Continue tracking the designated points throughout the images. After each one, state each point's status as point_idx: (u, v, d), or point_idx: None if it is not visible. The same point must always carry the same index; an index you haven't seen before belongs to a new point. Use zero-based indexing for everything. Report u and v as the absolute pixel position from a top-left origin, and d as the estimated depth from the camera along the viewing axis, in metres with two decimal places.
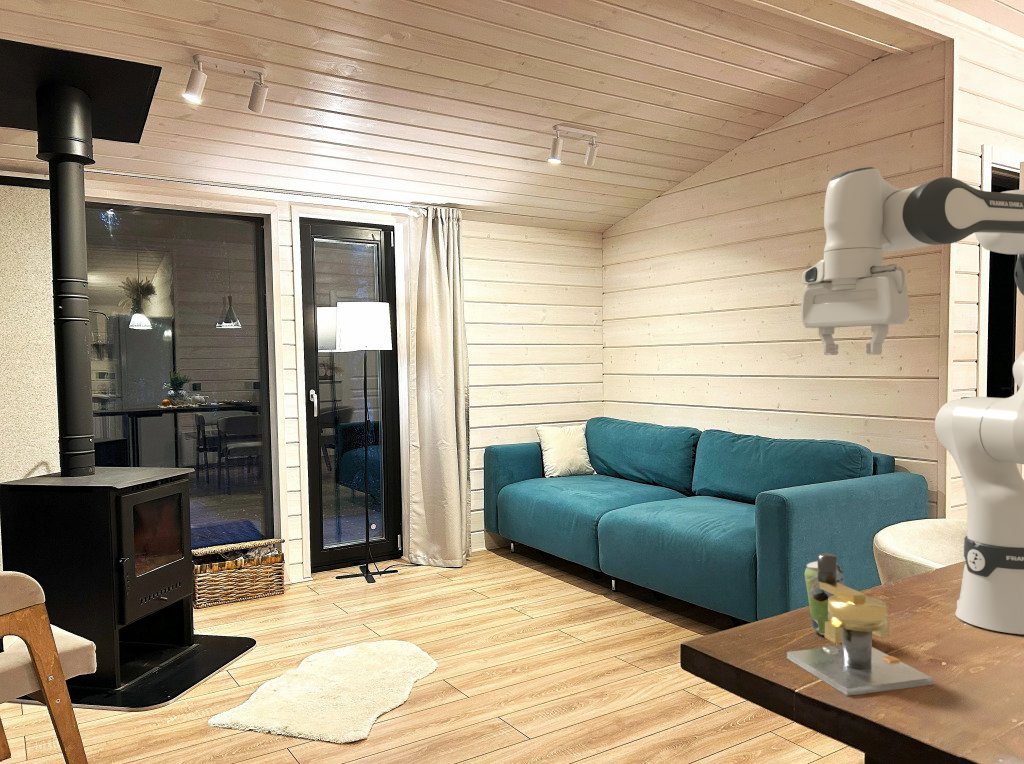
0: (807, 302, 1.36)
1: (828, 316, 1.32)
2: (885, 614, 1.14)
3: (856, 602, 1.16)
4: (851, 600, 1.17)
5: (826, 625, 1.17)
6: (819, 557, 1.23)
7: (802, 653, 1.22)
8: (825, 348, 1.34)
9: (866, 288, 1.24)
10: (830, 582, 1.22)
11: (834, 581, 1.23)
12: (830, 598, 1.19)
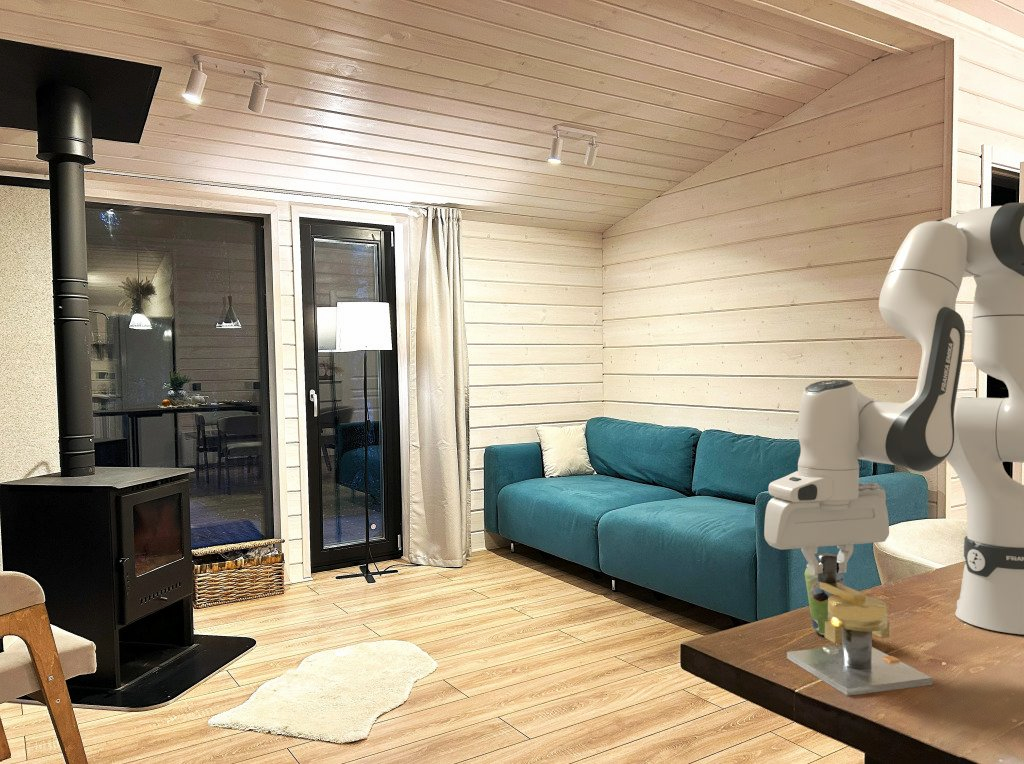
0: (788, 521, 1.19)
1: (815, 536, 1.21)
2: (885, 614, 1.14)
3: (856, 602, 1.16)
4: (851, 600, 1.17)
5: (826, 625, 1.17)
6: (819, 557, 1.23)
7: (802, 653, 1.22)
8: (817, 568, 1.22)
9: (862, 508, 1.23)
10: (830, 582, 1.22)
11: (834, 581, 1.23)
12: (830, 598, 1.19)
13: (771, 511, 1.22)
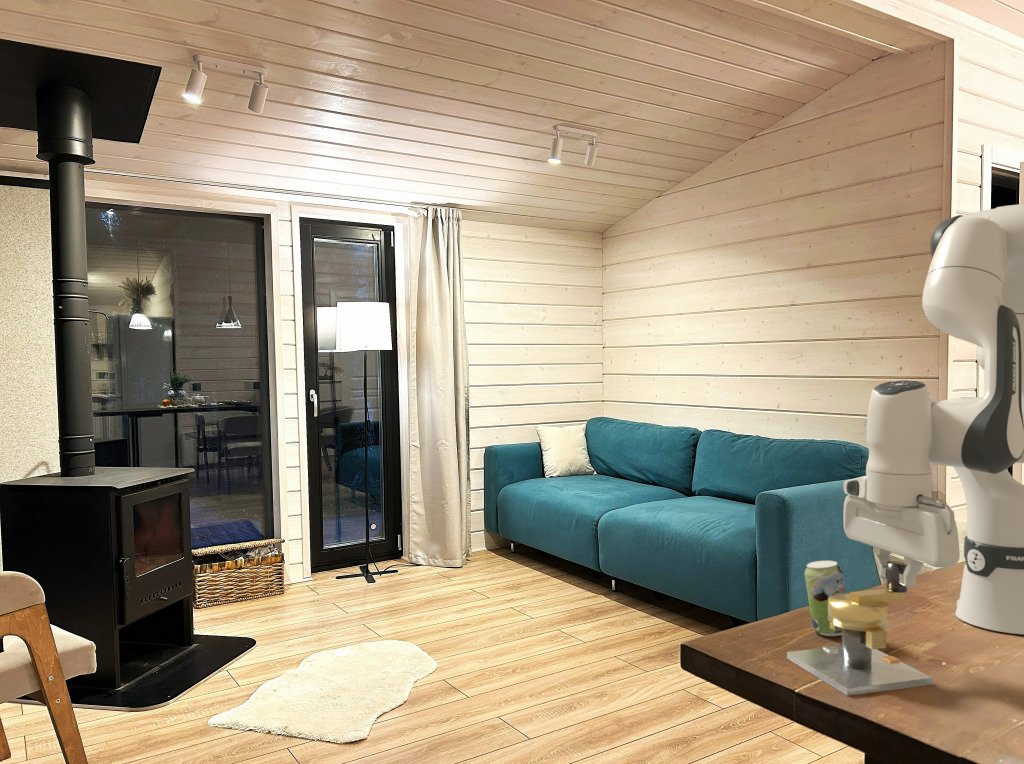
0: (849, 512, 1.26)
1: (871, 535, 1.21)
2: (847, 615, 1.14)
3: (852, 600, 1.17)
4: None
5: None
6: None
7: (802, 653, 1.22)
8: (881, 571, 1.21)
9: (911, 520, 1.13)
10: (887, 588, 1.19)
11: (891, 589, 1.18)
12: None
13: None
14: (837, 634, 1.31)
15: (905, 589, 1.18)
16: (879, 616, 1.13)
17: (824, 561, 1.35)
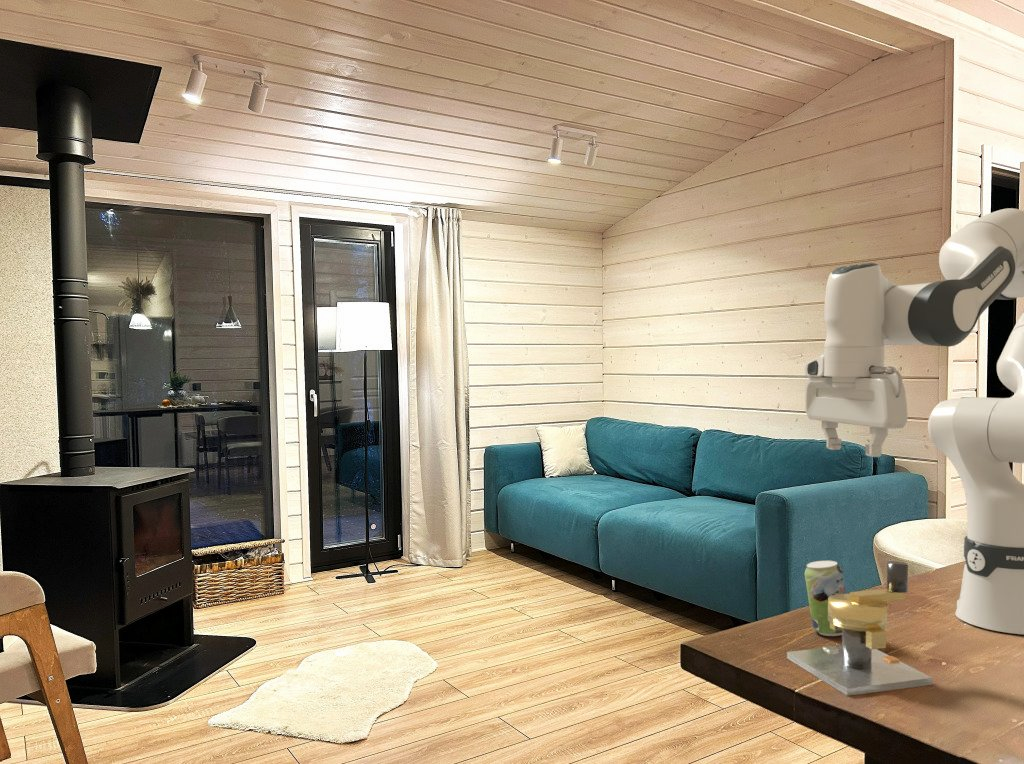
0: (810, 394, 1.34)
1: (829, 411, 1.29)
2: (847, 615, 1.14)
3: (852, 600, 1.17)
4: None
5: None
6: None
7: (802, 653, 1.22)
8: (828, 442, 1.31)
9: (864, 389, 1.21)
10: (887, 589, 1.19)
11: (891, 589, 1.18)
12: None
13: None
14: (837, 634, 1.31)
15: (905, 589, 1.18)
16: (879, 616, 1.13)
17: (824, 561, 1.35)
